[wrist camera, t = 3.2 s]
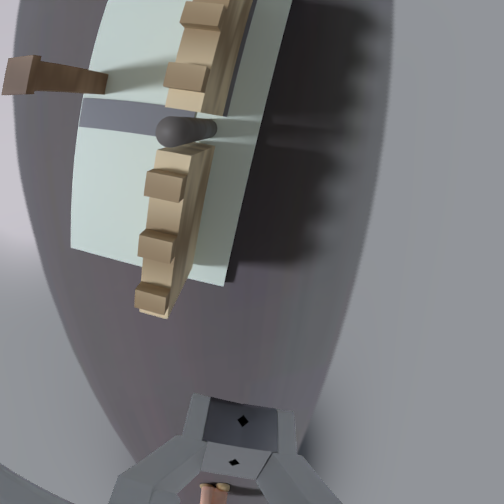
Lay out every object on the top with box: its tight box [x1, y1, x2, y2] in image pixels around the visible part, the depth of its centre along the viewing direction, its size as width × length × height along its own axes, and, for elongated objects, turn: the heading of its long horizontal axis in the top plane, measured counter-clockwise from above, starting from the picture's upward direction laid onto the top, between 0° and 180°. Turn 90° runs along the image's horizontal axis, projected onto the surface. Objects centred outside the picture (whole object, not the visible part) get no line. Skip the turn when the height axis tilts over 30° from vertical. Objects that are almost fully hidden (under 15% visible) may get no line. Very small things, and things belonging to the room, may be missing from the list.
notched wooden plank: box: [135, 142, 215, 319], centre depth 16 cm, size 8×2×7 cm, turn 167°
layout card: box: [71, 0, 292, 286], centre depth 18 cm, size 20×12×1 cm, turn 167°
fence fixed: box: [155, 0, 253, 148], centre depth 13 cm, size 10×2×7 cm, turn 167°
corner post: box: [2, 55, 109, 95], centre depth 13 cm, size 2×2×8 cm
